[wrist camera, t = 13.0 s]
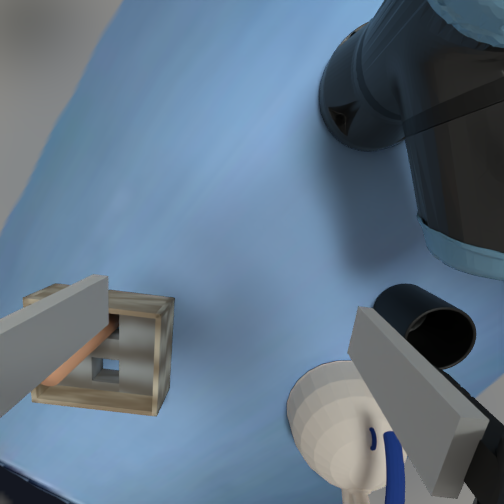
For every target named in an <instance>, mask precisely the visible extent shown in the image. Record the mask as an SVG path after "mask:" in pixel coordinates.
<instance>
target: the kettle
mask: <svg viewBox="0 0 504 504" xmlns="http://www.w3.org/2000/svg"><path fill="white" fill-rule="evenodd" d="M287 417H288V420H289V423H290V427H291V431H292V435H293V438H294V441H295V444H296V447H297V448H298V450H299V451H300V453H301V454H302V456H303V458H304V459H305V461H306V462H307V463H308V465H309V466H310V468H311V469H313V470H314V471H315V472H316V473H318V474H319V475H320V476H321V477H323V478H324V479H325V480H326V481H328V482H329V483H330V484H332V485H334V486H337V487H339V488H341V489H342V499H343V504H370V501H369V497H368V495H369V494H370V493H371V492H372V491H376V490H378V489H381V488H383V487H385V486H386V496H385V504H404V502H405V473H404V463H405V461H406V458H407V454H406V452H405V450H404V449H403V447H402V445H401V443H400V442H399V440H398V438H397V437H396V435H395V433H394V431H393V430H392V428H391V426H390V425H389V423H388V421H387V419H386V418H385V416H384V414H383V413H382V411H381V409H380V407H379V406H378V404H377V402H376V401H375V399H374V397H373V396H372V394H371V392H370V390H369V389H368V387H367V385H366V384H365V382H364V380H363V378H362V377H361V375H360V373H359V372H358V370H357V368H356V366H355V365H354V363H353V361H335V362H331V363H326V364H322V365H320V366H318V367H316V368H314V369H312V370H310V371H309V372H307V373H306V374H305V375H304V376H303V377H302V378H300V379H299V380H298V382H297V383H296V384H295V386H294V387H293V389H292V390H291V392H290V395H289V399H288V402H287Z"/></svg>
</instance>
